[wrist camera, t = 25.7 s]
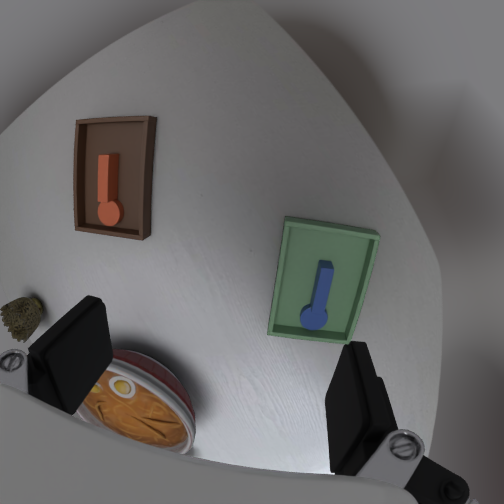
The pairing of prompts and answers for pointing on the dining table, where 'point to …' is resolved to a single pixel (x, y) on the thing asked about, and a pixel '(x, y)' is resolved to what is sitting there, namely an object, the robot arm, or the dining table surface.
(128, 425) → the bowl
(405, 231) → the dining table surface
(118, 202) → the terracotta spoon
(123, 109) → the dining table surface
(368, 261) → the green tray
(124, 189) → the tray
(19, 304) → the decorative vase
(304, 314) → the blue spoon
